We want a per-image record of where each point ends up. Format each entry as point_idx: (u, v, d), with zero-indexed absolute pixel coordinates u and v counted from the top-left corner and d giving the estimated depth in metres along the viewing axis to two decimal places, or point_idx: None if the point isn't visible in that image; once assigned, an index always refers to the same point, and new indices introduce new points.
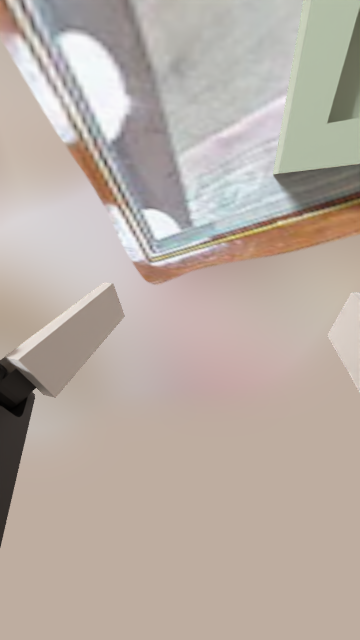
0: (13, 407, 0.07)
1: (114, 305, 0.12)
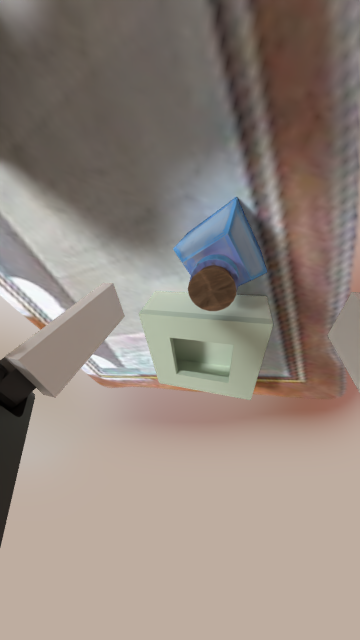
0: (13, 407, 0.07)
1: (114, 305, 0.12)
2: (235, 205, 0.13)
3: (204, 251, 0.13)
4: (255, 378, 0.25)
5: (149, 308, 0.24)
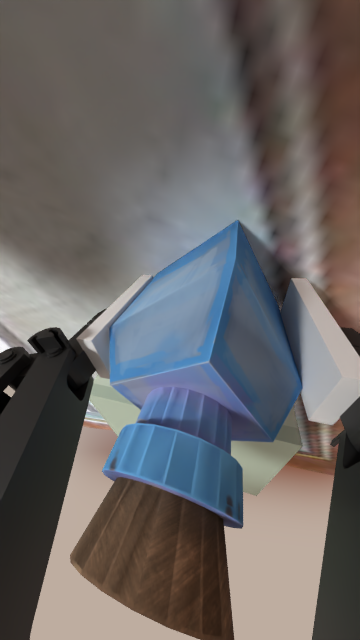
0: (76, 389, 0.08)
1: None
2: (233, 263, 0.05)
3: (152, 379, 0.05)
4: (264, 483, 0.17)
5: (103, 381, 0.15)
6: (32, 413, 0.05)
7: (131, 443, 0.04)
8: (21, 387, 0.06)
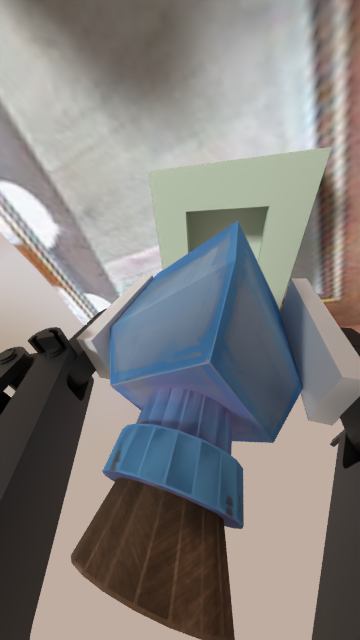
0: (76, 389, 0.08)
1: None
2: (234, 264, 0.05)
3: (152, 379, 0.05)
4: (290, 268, 0.20)
5: None
6: (32, 412, 0.05)
7: (132, 443, 0.04)
8: (21, 387, 0.06)
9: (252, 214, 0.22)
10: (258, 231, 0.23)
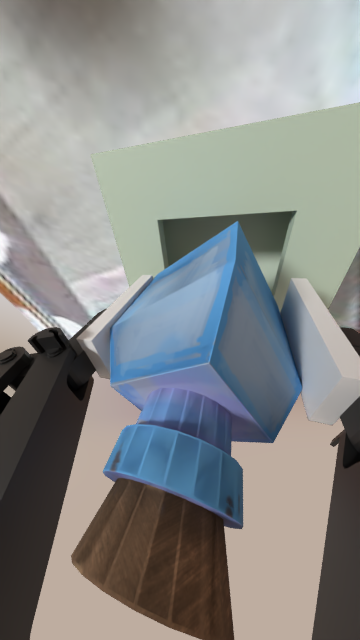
0: (76, 389, 0.08)
1: None
2: (233, 265, 0.05)
3: (152, 380, 0.05)
4: None
5: None
6: (32, 413, 0.05)
7: (132, 444, 0.04)
8: (21, 387, 0.06)
9: (262, 221, 0.15)
10: (270, 245, 0.16)
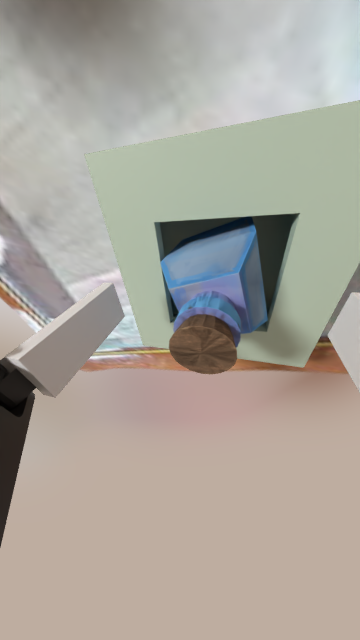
0: (13, 407, 0.07)
1: (114, 305, 0.12)
2: (254, 233, 0.10)
3: (201, 284, 0.10)
4: (329, 312, 0.12)
5: None
6: None
7: (198, 301, 0.08)
8: None
9: (263, 224, 0.14)
10: (271, 248, 0.15)
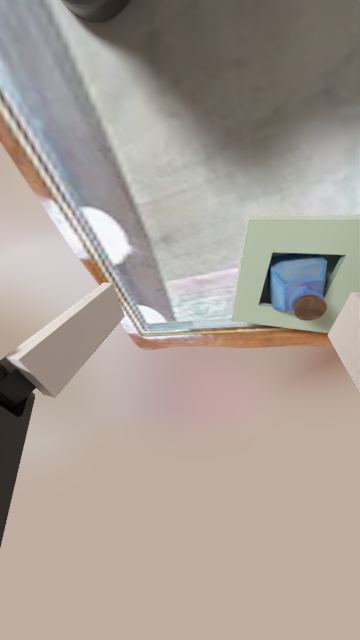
0: (13, 407, 0.07)
1: (114, 305, 0.12)
2: (326, 262, 0.22)
3: (302, 283, 0.22)
4: None
5: (256, 219, 0.23)
6: None
7: (307, 289, 0.21)
8: None
9: None
10: None
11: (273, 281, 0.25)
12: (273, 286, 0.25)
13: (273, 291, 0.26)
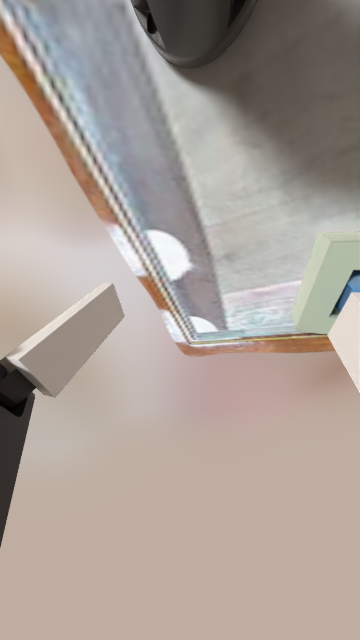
0: (13, 407, 0.07)
1: (114, 305, 0.12)
2: None
3: None
4: None
5: (338, 240, 0.25)
6: None
7: None
8: None
9: None
10: None
11: None
12: None
13: None
